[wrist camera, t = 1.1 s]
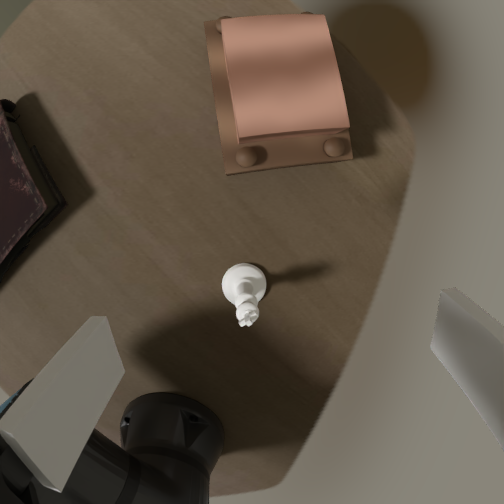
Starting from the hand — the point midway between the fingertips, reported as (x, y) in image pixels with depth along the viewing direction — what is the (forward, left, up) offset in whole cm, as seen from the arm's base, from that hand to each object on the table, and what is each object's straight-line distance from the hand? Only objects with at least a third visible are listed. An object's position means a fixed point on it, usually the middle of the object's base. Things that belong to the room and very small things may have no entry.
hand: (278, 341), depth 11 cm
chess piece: (-5, +1, -23) cm, 24 cm away
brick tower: (+15, -5, -23) cm, 28 cm away
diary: (+10, +35, -24) cm, 44 cm away
